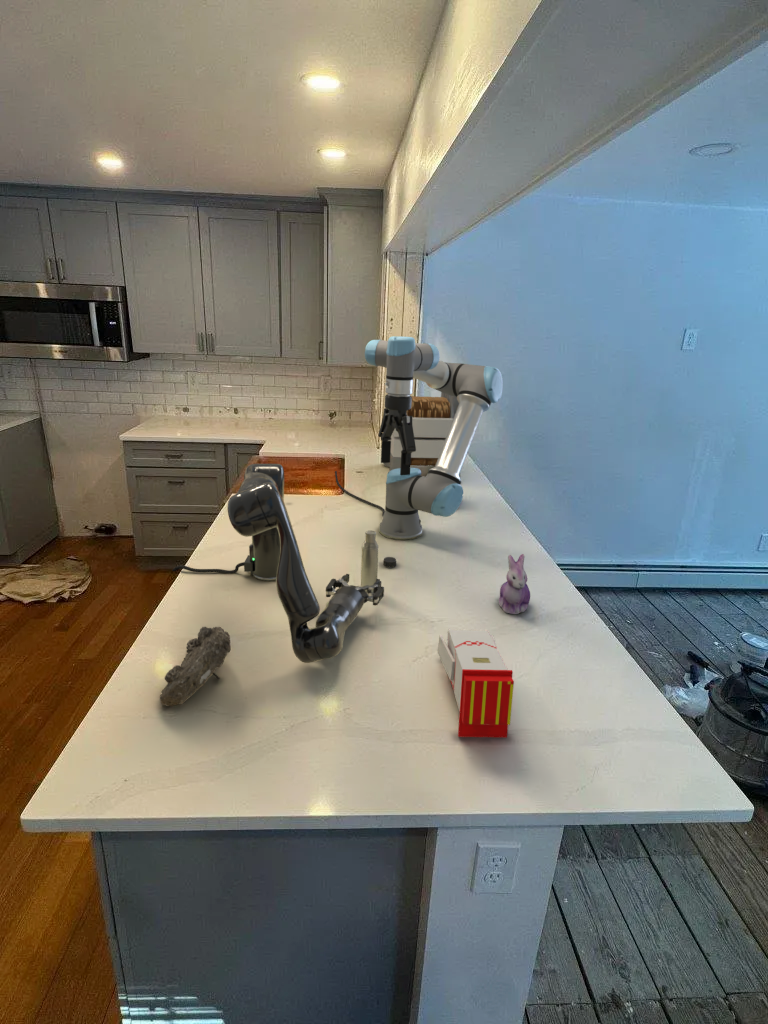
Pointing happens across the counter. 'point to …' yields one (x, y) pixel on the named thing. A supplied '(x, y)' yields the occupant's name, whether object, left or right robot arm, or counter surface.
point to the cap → (389, 562)
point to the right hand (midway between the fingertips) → (394, 468)
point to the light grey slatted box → (426, 430)
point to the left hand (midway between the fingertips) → (363, 579)
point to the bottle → (369, 559)
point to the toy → (478, 682)
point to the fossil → (196, 665)
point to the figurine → (515, 588)
